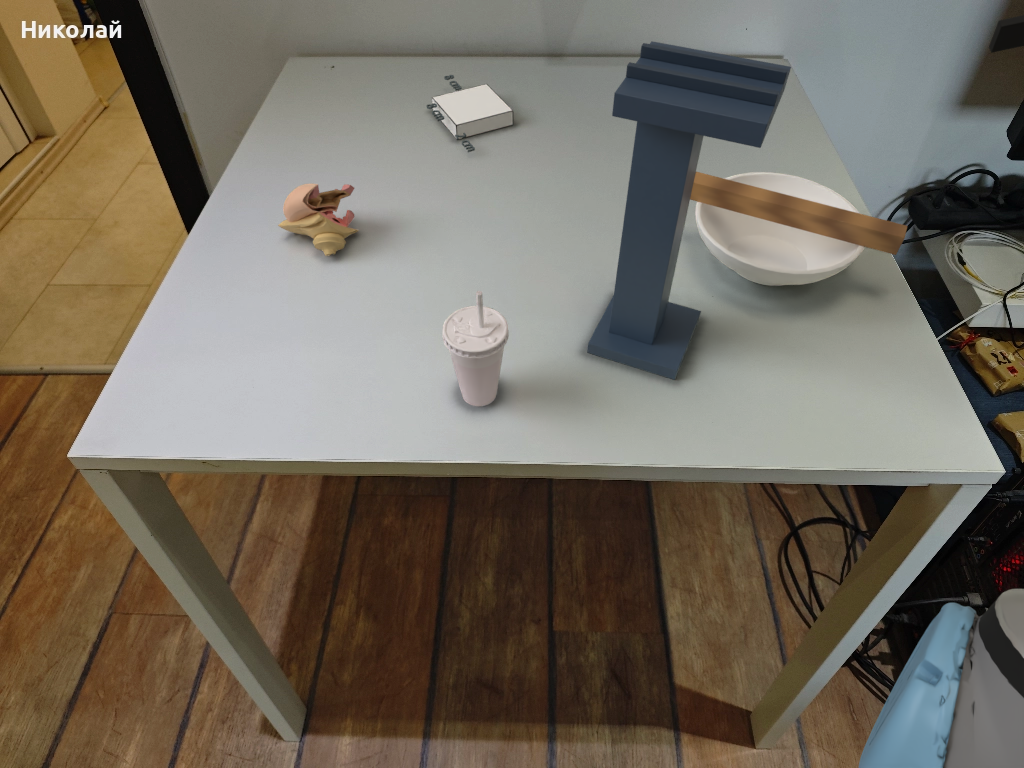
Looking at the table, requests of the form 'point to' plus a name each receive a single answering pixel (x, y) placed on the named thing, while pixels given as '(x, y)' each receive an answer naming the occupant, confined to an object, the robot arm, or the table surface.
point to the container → (471, 111)
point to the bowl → (776, 236)
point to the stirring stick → (799, 213)
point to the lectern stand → (673, 186)
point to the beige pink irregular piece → (318, 216)
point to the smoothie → (476, 350)
